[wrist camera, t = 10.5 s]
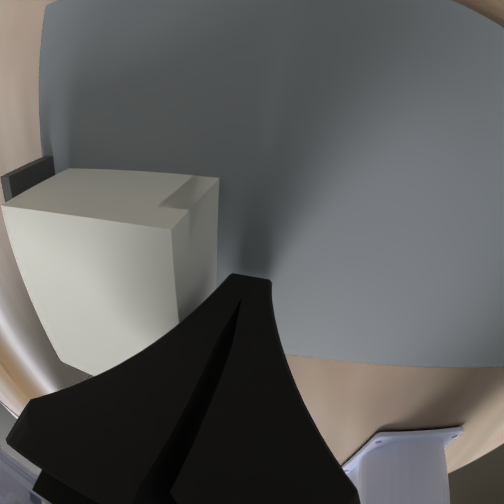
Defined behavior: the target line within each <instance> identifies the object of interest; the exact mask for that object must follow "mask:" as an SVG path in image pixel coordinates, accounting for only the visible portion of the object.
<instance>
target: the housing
mask: <svg viewBox="0 0 504 504" xmlns="http://www.w3.org/2000/svg"><path fill="white" fill-rule="evenodd" d="M218 201H219V178H215V177H206V176H196V175H185V174H174V173H161V172H147V171H130V170H110V169H79V168H69V169H67V170H64V171H62V172H60V173H58V174H56V175H54V176H52V177H50V178H48V179H47V180H45V181H43V182H41V183H39V184H37V185H35V186H33V187H32V188H30V189H28V190H26V191H24V192H23V193H21V194H19V195H17V196H16V197H14V198H12V199H11V200H9V201H7V202H6V203H4V204H2V205H1V209H2V213H3V217H4V221H5V225H6V229H7V232H8V236H9V239H10V243H11V246H12V249H13V252H14V255H15V259H16V261H17V264H18V267H19V270H20V273H21V276H22V278H23V281H24V284H25V286H26V289H27V291H28V294H29V296H30V299H31V301H32V303H33V306H34V308H35V310H36V312H37V315H38V317H39V319H40V321H41V323H42V325H43V328H44V330H45V332H46V334H47V336H48V338H49V340H50V342H51V344H52V345H53V347H54V349H55V351H56V353H57V355H58V357H59V358H60V360H61V361H62V362H64V363H66V364H68V365H70V366H72V367H74V368H77V369H79V370H81V371H83V372H86V373H88V374H90V375H93V376H96V375H98V374H101V373H103V372H105V371H107V370H109V369H111V368H113V367H115V366H116V365H118V364H120V363H122V362H124V361H125V360H127V359H129V358H130V357H132V356H134V355H135V354H137V353H139V352H140V351H142V350H143V349H145V348H146V347H148V346H149V345H151V344H152V343H154V342H155V341H157V340H158V339H159V338H161V337H162V336H163V335H165V334H166V333H168V332H169V331H170V330H171V329H173V328H174V327H175V326H176V325H177V324H179V323H180V322H181V321H182V320H183V319H185V318H186V317H187V316H188V315H189V314H191V313H192V312H193V311H194V310H195V309H196V308H197V307H198V306H199V305H200V304H201V303H202V302H204V301H205V300H206V299H207V298H208V297H209V296H210V295H211V294H212V293H213V292H214V291H215V290H216V277H217V232H218Z"/></svg>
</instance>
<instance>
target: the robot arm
mask: <svg viewBox="0 0 504 504" xmlns="http://www.w3.org/2000/svg"><path fill="white" fill-rule="evenodd" d="M463 432H464V429H463V427H455V428H446V429H436V430H423V431H403V432H380V433H377V434H376V435H375V436H374V437H373V438H372V439H371V440H370V441H369V442H368V443H367V444H366V445H365V446H364V447H362V448H361V449H360V450H359V451H358V452H357V453H356V454H355V455H354V456H353V457H352V458H351V459H350V460H348V461H347V462H346V463H345V464H344V465H343V466H342V467H341V466H340V464H339V463H338V461H337V460H336V458H335V457H334V455H333V454H332V452H331V451H330V449H329V447H328V446H327V444H326V442H325V441H324V439H323V438H322V436H321V434H320V432H319V430H318V428H317V427H316V425H315V423H314V421H313V419H312V417H311V415H310V413H309V412H308V410H307V408H306V406H305V404H304V402H303V399H302V397H301V395H300V393H299V391H298V388H297V386H296V384H295V381H294V379H293V376H292V374H291V371H290V368H289V366H288V363H287V360H286V357H285V354H284V350H283V347H282V344H281V340H280V337H279V333H278V329H277V324H276V320H275V315H274V309H273V302H272V282H271V281H270V279H264V278H258V277H252V276H246V275H240V274H235V273H232V274H230V275H228V277H227V278H226V279H225V280H224V281H223V282H222V283H221V284H220V285H219V287H218V288H217V289H216V290H215V291H214V292H213V293H212V294H211V295H210V296H209V297H208V298H207V299H206V300H205V301H204V302H202V303H201V304H200V305H199V306H198V307H197V308H196V309H195V310H194V311H193V312H192V313H191V314H189V315H188V316H187V317H186V318H185V319H183V320H182V321H181V322H180V323H179V324H177V325H176V326H175V327H174V328H173V329H171V330H170V331H169V332H168V333H166V334H165V335H163V336H162V337H161V338H159V339H158V340H157V341H155V342H154V343H152V344H151V345H149V346H148V347H146V348H145V349H143V350H142V351H140V352H139V353H137V354H135V355H134V356H132V357H130V358H129V359H127V360H125V361H124V362H122V363H120V364H118V365H116V366H115V367H113V368H111V369H109V370H107V371H105V372H103V373H101V374H98V375H96V376H94V377H92V378H90V379H87V380H85V381H83V382H81V383H79V384H76V385H74V386H71V387H69V388H66V389H63V390H60V391H57V392H54V393H51V394H48V395H44V396H41V397H38V398H34V399H31V400H30V401H29V402H28V404H27V405H26V407H25V408H24V410H23V411H22V413H21V414H20V416H19V418H18V419H17V421H16V423H15V424H14V426H13V428H12V430H11V431H10V433H9V434H8V436H7V438H6V441H7V444H8V445H10V446H11V447H12V448H13V449H15V450H16V451H17V452H18V453H20V454H21V455H22V456H24V457H25V458H26V459H28V460H29V461H30V462H32V463H33V464H35V465H36V466H38V467H39V468H40V469H42V470H41V472H40V474H39V475H37V474H36V473H34V472H33V471H31V470H30V469H29V468H27V467H26V466H25V465H24V464H22V463H21V462H20V461H18V460H17V459H16V458H14V457H13V456H12V455H11V454H10V453H8V452H7V451H6V450H5V449H4V448H2V447H1V446H0V504H42V501H44V502H45V503H46V504H450V497H449V484H448V474H447V465H446V457H445V450H444V448H445V447H446V446H447V445H448V444H450V443H451V442H452V441H453V440H455V439H456V438H457V437H458V436H460V435H461V434H462V433H463ZM41 500H42V501H41Z"/></svg>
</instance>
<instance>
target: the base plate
mask: <svg viewBox="0 0 504 504" xmlns="http://www.w3.org/2000/svg"><path fill="white" fill-rule="evenodd" d="M39 118H40V134H41V146H42V156H43V157H42V158H39V159H37V160H35V161H33V162H30V163H28V164H26V165H24V166H22V167H20V168H18V169H15V170H13V171H11V172H9V173H7V174H5V175H3V176H1V183H2V188H3V193H4V198H5V203H6V202H7V201H9V200H11V199H12V198H14V197H16V196H17V195H19V194H21V193H23V192H24V191H26V190H28V189H30V188H32V187H33V186H35V185H37V184H39V183H41V182H43V181H45V180H47V179H48V178H50V177H52V176H54V175H56V174H58V173H60V172H62V171H64V170H67V169H69V168H79V169H110V170H130V171H147V172H161V173H174V174H185V175H196V176H206V177H215V178H219V201H218V232H217V277H216V289H217V288H218V287H219V285H220V284H221V283H222V282H223V281H224V280H225V279H226V278H227V277H228V275H230V274H232V273H235V274H240V275H246V276H252V277H258V278H264V279H270V281H271V282H272V302H273V309H274V315H275V320H276V324H277V329H278V333H279V337H280V340H281V344H282V347H283V350H284V354H290V355H297V356H304V357H311V358H319V359H327V360H336V361H345V362H355V363H365V364H377V365H391V366H409V367H437V368H478V367H504V28H503V27H502V26H500V25H499V24H497V23H495V22H494V21H492V20H490V19H488V18H487V17H485V16H483V15H481V14H479V13H477V12H475V11H474V10H472V9H470V8H468V7H466V6H464V5H462V4H459V3H457V2H455V1H453V0H57V1H55V2H53V3H51V4H49V5H47V6H46V8H45V14H44V21H43V29H42V38H41V49H40V65H39Z"/></svg>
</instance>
